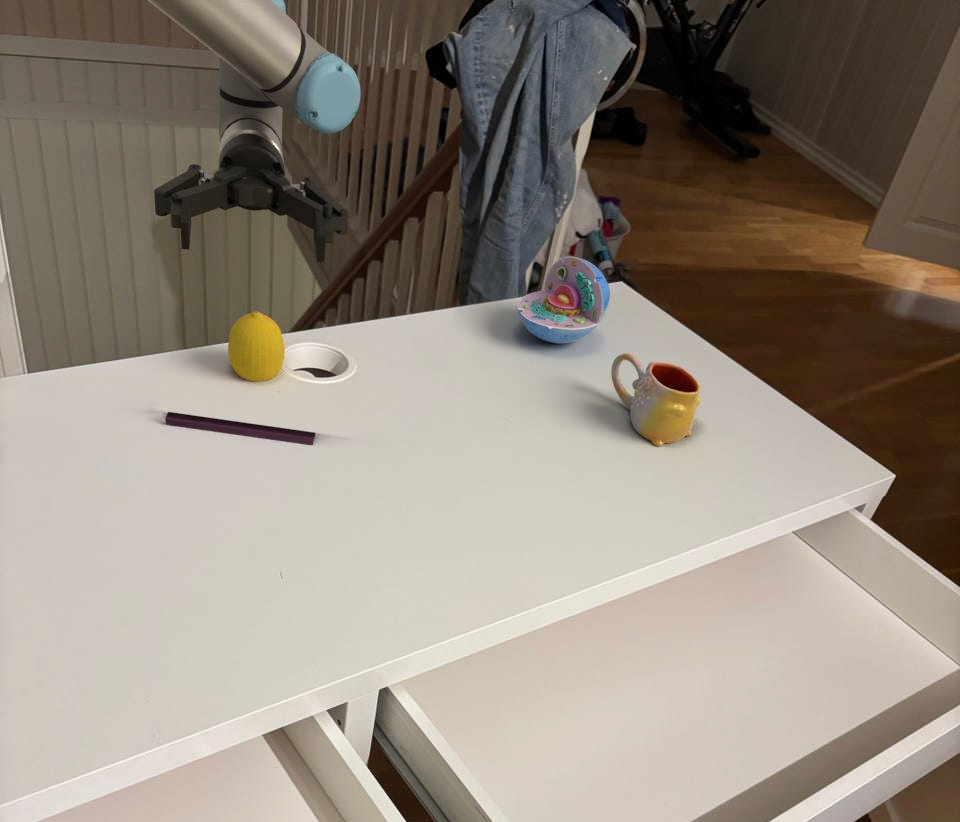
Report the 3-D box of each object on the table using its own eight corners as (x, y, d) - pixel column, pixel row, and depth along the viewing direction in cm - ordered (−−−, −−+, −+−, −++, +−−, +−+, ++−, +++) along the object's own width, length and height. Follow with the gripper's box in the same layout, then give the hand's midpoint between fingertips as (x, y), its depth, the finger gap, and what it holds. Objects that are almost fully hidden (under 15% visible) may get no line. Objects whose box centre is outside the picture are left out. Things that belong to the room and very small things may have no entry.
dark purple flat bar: (165, 424, 93) (165, 417, 92) (177, 397, 97) (176, 390, 96) (312, 445, 95) (313, 438, 94) (318, 418, 98) (319, 411, 98)
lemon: (251, 365, 103) (252, 293, 98) (294, 385, 102) (297, 313, 96) (217, 384, 100) (215, 311, 94) (260, 405, 98) (261, 332, 93)
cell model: (493, 329, 119) (507, 252, 112) (561, 311, 125) (579, 237, 119) (549, 367, 114) (567, 289, 107) (617, 347, 121) (638, 272, 114)
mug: (700, 440, 108) (720, 386, 103) (656, 453, 104) (675, 398, 100) (629, 386, 114) (645, 333, 110) (586, 396, 111) (600, 342, 106)
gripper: (355, 210, 120) (372, 288, 105) (141, 187, 114) (128, 267, 99) (360, 145, 115) (379, 218, 100) (137, 118, 109) (122, 191, 94)
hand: (254, 243), depth 100 cm, fingers open, 13 cm apart
